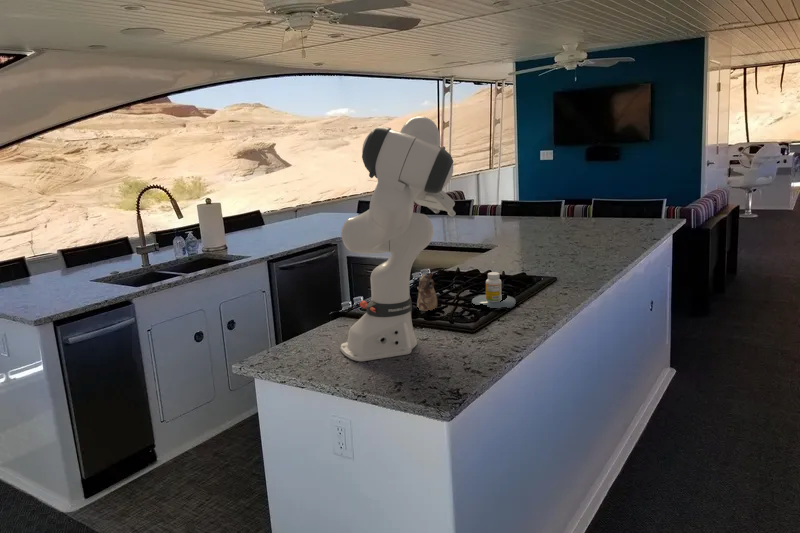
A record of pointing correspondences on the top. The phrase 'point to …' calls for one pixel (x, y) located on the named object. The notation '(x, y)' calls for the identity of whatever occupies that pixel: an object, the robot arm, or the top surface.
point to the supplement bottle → (493, 287)
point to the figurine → (426, 294)
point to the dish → (481, 299)
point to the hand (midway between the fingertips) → (445, 213)
